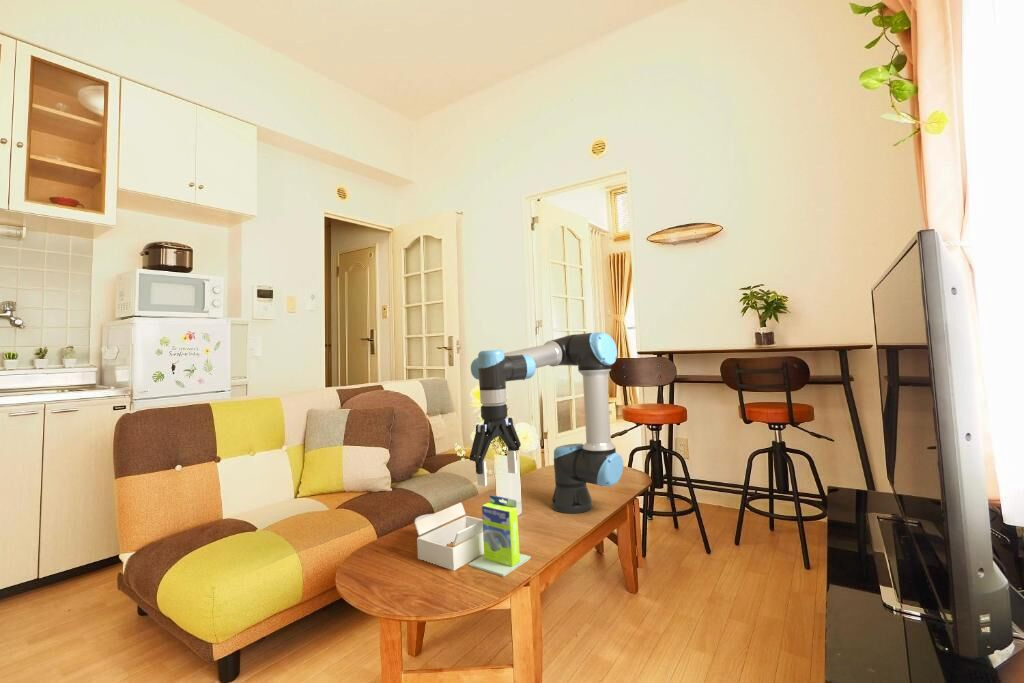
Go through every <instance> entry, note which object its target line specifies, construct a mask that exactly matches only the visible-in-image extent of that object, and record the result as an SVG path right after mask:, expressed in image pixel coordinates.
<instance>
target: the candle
mask: <svg viewBox="0 0 1024 683" xmlns="http://www.w3.org/2000/svg"><path fill="white" fill-rule="evenodd" d="M432 514H433V513H426V514H423V515H419V516H418V517H415V519H414V522H415V521H418V520H420V519H423V518H425V517H427V516H430V515H432ZM442 526H443V525H440V526H438V527H436V528H434V529H432V530H429V531H427V532H425V533H423V534H421V535H418V534H417V536H418V537H421V536H423V535H425V534H427V533H429V532H431V531H434V530H436V529H438V528H440V527H442Z"/></svg>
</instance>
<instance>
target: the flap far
mask: <svg viewBox="0 0 1024 683" xmlns="http://www.w3.org/2000/svg"><path fill="white" fill-rule="evenodd" d="M431 514H432V515H430V516H427V517H425V518H423V519H420V520H418V521H415V520H414V523H413V524H414V526H415V530H416V533H417V536H418V535H421V534H423V533H425V532H427V531H429V530H432V529H434V528H436V527H438V526H440V525H442V526H444V524H445V525H446V524H448V523H450V522H452V521H455V519H456V520H457V519H459V518H460V517H463V516H466V510H465V509H464V505H463V503H462V502H459V503H456V504H454V505H451V506H449V507H447V508H444V509H442V510H440V511H438V512H435V513H431Z"/></svg>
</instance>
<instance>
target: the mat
mask: <svg viewBox="0 0 1024 683" xmlns="http://www.w3.org/2000/svg"><path fill="white" fill-rule="evenodd" d="M531 559H532V558H531V556H530V555H526V554H523V553H520V562H519V563H517V564H516V565H514V566H513V567H511V566H508V565H505V564H502V563H498V562H495V561H492V560H489V559H485V558H484V554H482V555H480V556H479V557H477V558H475V559H473V560H472V561H470V562H468V566H469V567H472V568H474V569H477V570H480V571H484V572H487V573H491V574H492V575H497V576H500V577H503V578H505V577H506V576H507V575H508V574H510V573H511V572H513V571H515V570H516V569H518V568H519V567H520V566H522V565H523V564H525V563H526V562H527V561H530V560H531Z"/></svg>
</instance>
